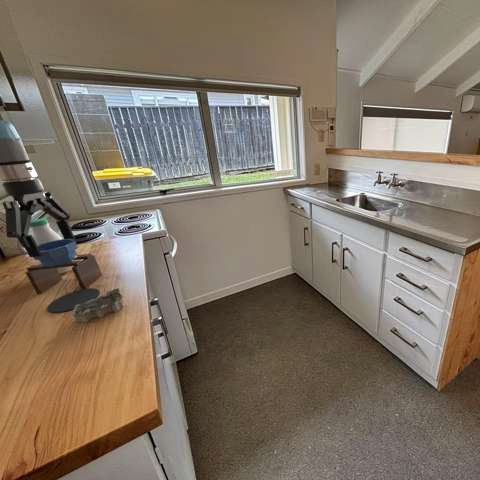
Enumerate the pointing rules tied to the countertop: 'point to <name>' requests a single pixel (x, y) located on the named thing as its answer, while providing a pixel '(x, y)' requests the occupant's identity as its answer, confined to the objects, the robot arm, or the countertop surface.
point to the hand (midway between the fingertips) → (54, 247)
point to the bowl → (57, 252)
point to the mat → (72, 300)
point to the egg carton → (99, 306)
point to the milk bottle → (46, 236)
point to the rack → (50, 276)
